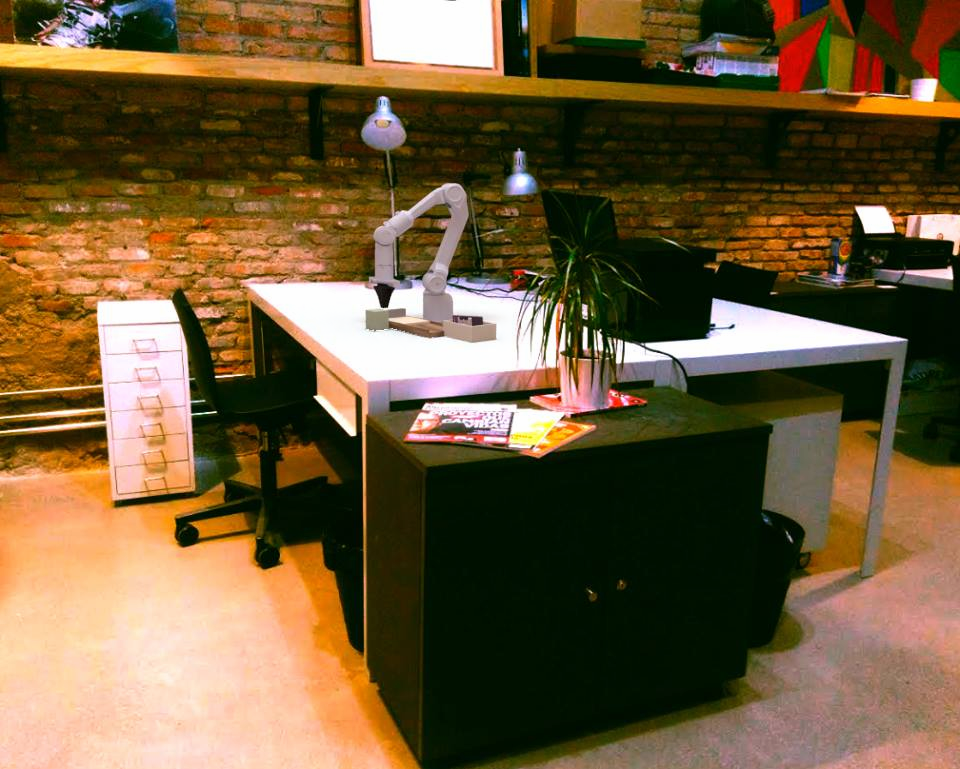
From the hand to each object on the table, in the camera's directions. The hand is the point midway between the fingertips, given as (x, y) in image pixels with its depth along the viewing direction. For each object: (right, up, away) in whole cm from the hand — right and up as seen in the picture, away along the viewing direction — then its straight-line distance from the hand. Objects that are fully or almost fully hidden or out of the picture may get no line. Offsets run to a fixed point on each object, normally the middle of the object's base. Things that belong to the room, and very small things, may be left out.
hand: (384, 307), depth 272 cm
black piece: (+27, -11, -23) cm, 37 cm away
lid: (+7, -5, -7) cm, 12 cm away
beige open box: (+27, -11, -23) cm, 38 cm away
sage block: (-1, -8, -12) cm, 15 cm away
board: (+11, -8, -12) cm, 18 cm away
